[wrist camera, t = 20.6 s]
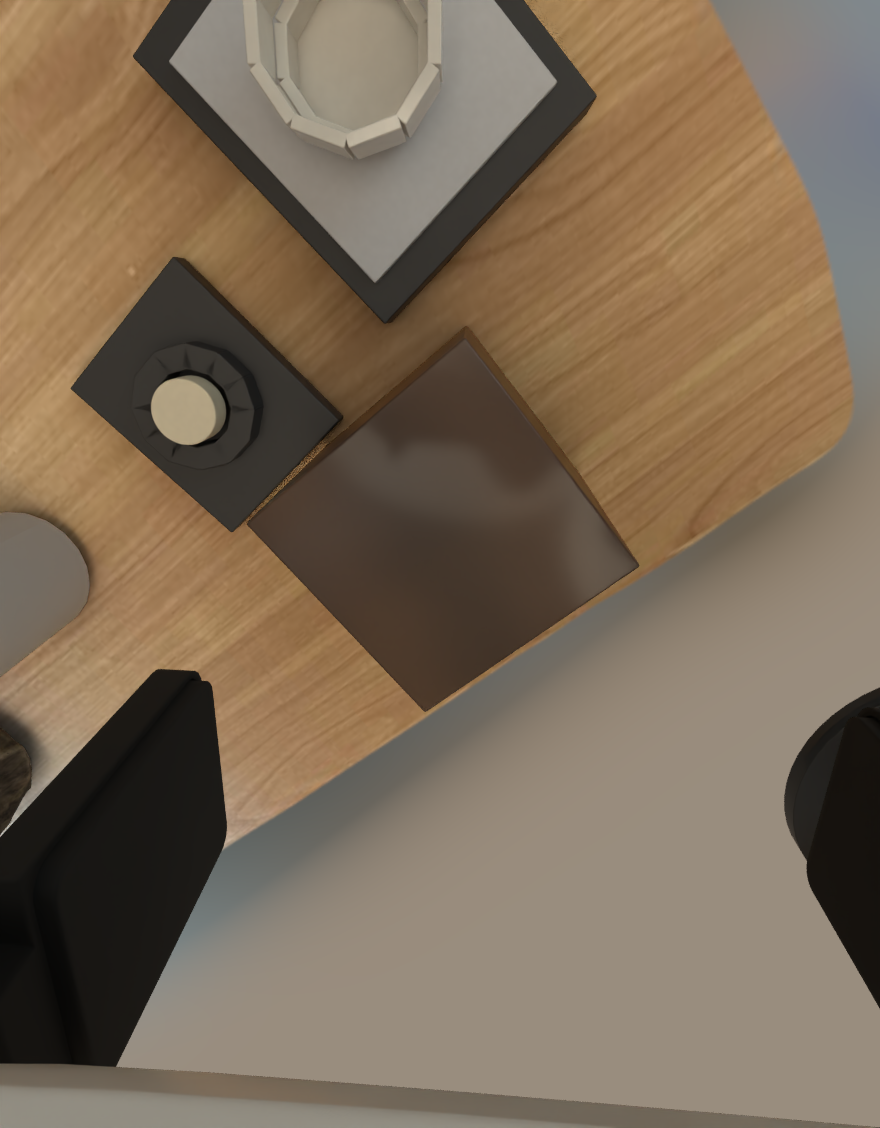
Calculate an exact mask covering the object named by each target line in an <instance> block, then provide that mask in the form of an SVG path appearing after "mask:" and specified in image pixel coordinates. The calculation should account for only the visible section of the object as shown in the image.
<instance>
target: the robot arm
mask: <svg viewBox="0 0 880 1128" xmlns="http://www.w3.org/2000/svg"><path fill="white" fill-rule="evenodd" d="M226 831H227V821H226V811H225V802H224V793H223V783H222V774H221V764H220V755H219V746H218V736H217V727H216V718H215V708H214V699H213V691H212V686H211V684H210V683H209V682H208V681H201V677H200V675H199V673H197V672H196V671H185V670H166V669H158V670H156V671H155V672H153V673H152V674H151V675H150V676H149V677H148V679H147V680H146V681H145V682H144V683H143V684H142V685H141V686H140V687H139V688H138V689H137V690H136V691H135V693H134V694H133V695H132V696H131V697H130V698H129V699H128V700H127V701H126V702H125V703H124V704H123V705H122V707H121V708H120V709H119V710H118V711H117V712H116V713H115V714H114V715H113V716H112V717H111V718H110V719H109V721H108V722H107V723H106V724H105V725H104V726H103V727H102V728H101V729H100V730H99V731H98V732H97V733H96V735H95V736H94V737H93V738H92V739H91V740H90V741H89V742H88V743H87V744H86V745H85V746H84V747H83V749H82V750H81V751H80V752H79V753H78V754H77V755H76V756H75V757H74V758H73V759H72V760H71V761H70V763H69V764H68V765H67V766H66V767H65V768H64V769H63V770H62V771H61V772H60V773H59V774H58V775H57V776H56V778H55V779H54V780H53V781H52V782H51V783H50V784H49V785H48V786H47V787H46V788H45V789H44V790H43V792H42V793H41V794H40V795H39V796H38V797H37V798H36V799H35V800H34V801H33V802H32V803H31V804H30V806H29V807H28V808H27V809H26V810H25V811H24V812H23V813H22V814H21V815H20V816H19V817H18V818H17V820H16V821H15V822H14V823H13V824H12V825H11V826H10V827H9V828H8V829H7V830H6V831H5V832H4V834H3V835H2V836H1V837H0V1128H880V1127H868V1126H858V1125H846V1124H835V1123H824V1122H813V1121H802V1120H790V1119H779V1118H767V1117H756V1116H745V1115H733V1114H721V1113H709V1112H697V1111H685V1110H674V1109H662V1108H649V1107H638V1106H626V1105H614V1104H601V1103H591V1102H578V1101H566V1100H554V1099H542V1098H528V1097H517V1096H505V1095H492V1094H481V1093H469V1092H456V1091H444V1090H430V1089H417V1088H405V1087H392V1086H379V1085H366V1084H353V1083H339V1082H326V1081H312V1080H301V1079H288V1078H274V1077H262V1076H248V1075H235V1074H223V1073H209V1072H192V1071H175V1070H156V1069H139V1068H122V1067H116V1065H117V1063H118V1061H119V1059H120V1057H121V1055H122V1053H123V1051H124V1049H125V1047H126V1045H127V1043H128V1041H129V1039H130V1037H131V1035H132V1033H133V1031H134V1029H135V1027H136V1025H137V1023H138V1020H139V1018H140V1017H141V1015H142V1012H143V1010H144V1008H145V1006H146V1004H147V1002H148V1000H149V998H150V996H151V994H152V992H153V990H154V988H155V986H156V984H157V982H158V980H159V978H160V976H161V974H162V971H163V969H164V967H165V966H166V963H167V961H168V959H169V957H170V955H171V953H172V951H173V949H174V947H175V945H176V943H177V941H178V939H179V937H180V935H181V933H182V931H183V929H184V927H185V924H186V922H187V921H188V919H189V917H190V914H191V912H192V910H193V908H194V906H195V904H196V902H197V900H198V898H199V896H200V894H201V892H202V890H203V888H204V886H205V884H206V882H207V880H208V878H209V876H210V874H211V872H212V869H213V867H214V865H215V863H216V861H217V859H218V857H219V855H220V853H221V851H222V849H223V846H224V842H225V838H226ZM807 877H808V881H809V884H810V887H811V889H812V891H813V893H814V895H815V896H816V898H817V900H818V902H819V903H820V905H821V907H822V909H823V910H824V912H825V914H826V916H827V917H828V919H829V921H830V923H831V924H832V926H833V928H834V930H835V931H836V933H837V935H838V937H839V938H840V940H841V942H842V944H843V945H844V947H845V949H846V951H847V952H848V954H849V956H850V958H851V959H852V961H853V963H854V964H855V966H856V968H857V970H858V971H859V973H860V975H861V977H862V978H863V980H864V982H865V984H866V985H867V987H868V989H869V991H870V992H871V994H872V996H873V998H874V999H875V1001H876V1003H877V1005H878V1006H879V1008H880V708H868V707H867V708H865V709H862V711H861V712H860V713H859V714H858V716H857V717H852V718H850V719H849V720H848V721H847V723H846V725H845V728H844V731H843V735H842V739H841V742H840V746H839V749H838V753H837V756H836V760H835V764H834V767H833V771H832V774H831V778H830V781H829V785H828V789H827V792H826V796H825V799H824V803H823V806H822V810H821V814H820V817H819V821H818V824H817V828H816V831H815V835H814V839H813V842H812V846H811V849H810V853H809V857H808V860H807Z"/></svg>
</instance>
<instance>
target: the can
mask: <svg viewBox="0 0 880 1128" xmlns="http://www.w3.org/2000/svg"><path fill="white" fill-rule="evenodd" d="M89 588H90V582H89V575H88V569H87V566H86V564H85V562H84V560H83V558H82V555H81V553H80V551H79V549H78V548H77V547H76V546H75V545H74V543H73V542H72V541H71V540H70V539H69V538H68V537H67V535H66V534H65V533H64V532H62V531H61V530H59V529H58V528H56V527H55V526H53V525H52V524H51V523H49V522H48V521H46V520H43V519H41V518H38V517H35V516H32V515H30V514H27V513H16V512H3V513H0V677H1V676H2V675H3V674H5V673H6V672H7V671H9V670H10V669H11V668H12V667H14V666H15V665H16V664H17V663H19V662H20V661H21V660H22V659H24V658H25V657H26V656H28V655H29V654H30V653H31V652H33V651H34V650H35V649H36V648H38V647H39V646H40V645H41V644H43V643H44V642H45V641H47V640H48V639H49V638H50V637H52V636H53V635H54V634H55V633H57V632H58V631H59V630H60V629H62V628H63V627H64V626H66V625H67V624H68V623H69V622H71V621H72V620H73V619H74V618H76V617H77V616H78V615H79V613H80V612H81V610H82V609H83V607H84V606H85V604H86V603H87V598H88V593H89Z"/></svg>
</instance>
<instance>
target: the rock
mask: <svg viewBox="0 0 880 1128" xmlns="http://www.w3.org/2000/svg"><path fill="white" fill-rule="evenodd" d="M31 777H32V767H31V765H30V758H29V756H28V755H27V753H26V749H25V748H24V747H23V746H22V745H20V744H19V743H17V742H16V741H15V740H13V739H12V738H11V736H10V735H9V734H8V733H6V732H5V731H4V730H3V729H2V728H0V835H1V833H2V832H3V830H4V829H5V828H6V827H7V826H8V825H9V823H10V821H11V819H12V817H13V815H14V813H15V812H16V810H17V808H18V806H19V804H20V802H21V800H22V798H23V797H24V795H25V794H26V792H27V791H28V790H29V789H30V788H31Z"/></svg>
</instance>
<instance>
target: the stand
mask: <svg viewBox="0 0 880 1128" xmlns="http://www.w3.org/2000/svg"><path fill="white" fill-rule="evenodd" d="M247 525H248V526H249V527H250V528H251V529H252V530H253V531H254V532H255V533H256V535H257V536H258V537H259V538H260V539H261V540H262V541H263V542H264V543H265V544H266V545H267V546H268V547H269V548H270V549H271V550H272V551H273V552H274V553H275V555H276V556H277V557H278V558H279V559H280V560H281V561H282V562H283V563H284V564H285V565H286V566H287V567H288V568H289V569H290V570H291V571H292V572H293V574H294V575H295V576H296V577H297V578H298V579H299V580H300V581H301V582H302V583H303V584H304V585H305V586H306V587H307V588H308V589H309V590H310V591H311V593H312V594H313V595H314V596H315V597H316V598H317V599H318V600H319V601H320V602H321V603H322V604H323V605H324V606H325V607H326V608H327V609H328V610H329V612H330V613H331V614H332V615H333V616H334V617H335V618H336V619H337V620H338V621H339V622H340V623H341V624H342V625H343V626H344V627H345V628H346V629H347V630H348V632H349V633H350V634H351V635H352V636H353V637H354V638H355V639H356V640H357V641H358V642H359V643H360V644H361V645H362V646H363V647H364V648H365V649H366V651H367V652H368V653H369V654H370V655H371V656H372V657H373V658H374V659H375V660H376V661H377V662H378V663H379V664H380V665H381V666H382V667H383V668H384V670H385V671H386V672H387V673H388V674H389V675H390V676H391V677H392V678H393V679H394V680H395V681H396V682H397V683H398V684H399V685H400V686H401V687H402V689H403V690H404V691H405V692H406V693H407V694H408V695H409V696H410V697H411V698H412V699H413V700H414V701H415V702H416V703H417V704H418V705H419V706H420V707H421V709H422V710H423V711H425V712H426V711H428V710H429V709H431V708H432V707H434V706H435V705H437V704H438V703H440V702H441V701H442V700H444V699H445V698H447V697H448V696H450V695H451V694H453V693H454V692H456V691H457V690H459V689H460V688H462V687H463V686H465V685H466V684H467V683H469V682H470V681H472V680H473V679H475V678H476V677H478V676H479V675H481V674H482V673H484V672H485V671H487V670H488V669H489V668H491V667H492V666H494V665H495V664H497V663H498V662H500V661H501V660H503V659H504V658H506V657H507V656H509V655H510V654H512V653H513V652H514V651H516V650H517V649H519V648H520V647H522V646H523V645H525V644H526V643H528V642H529V641H531V640H532V639H534V638H535V637H536V636H538V635H539V634H541V633H542V632H544V631H545V630H547V629H548V628H550V627H551V626H553V625H554V624H556V623H557V622H559V621H560V620H561V619H563V618H564V617H566V616H567V615H569V614H570V613H572V612H573V611H575V610H576V609H578V608H579V607H581V606H582V605H583V604H585V603H586V602H588V601H589V600H591V599H592V598H594V597H595V596H597V595H598V594H600V593H601V592H603V591H604V590H606V589H607V588H608V587H610V586H611V585H613V584H614V583H616V582H617V581H619V580H620V579H622V578H623V577H625V576H626V575H628V574H629V573H631V572H632V571H633V570H635V569H636V568H638V567H639V564H638V562H637V560H636V559H635V557H634V556H633V554H632V553H631V551H630V550H629V548H628V547H627V545H626V544H625V542H624V541H623V539H622V538H621V536H620V535H619V533H618V531H617V530H616V528H615V527H614V525H613V524H612V522H611V521H610V519H609V518H608V516H607V515H606V513H605V512H604V510H603V509H602V507H601V506H600V504H599V502H598V501H597V499H596V498H595V496H594V495H593V493H592V492H591V490H590V489H589V487H588V486H587V484H586V483H585V481H584V480H583V478H582V477H581V475H580V473H579V472H578V471H577V469H576V468H575V467H574V466H573V464H572V463H571V462H570V460H569V459H568V458H567V456H566V455H565V454H564V452H563V451H562V450H561V448H560V447H559V446H558V444H557V443H556V442H555V440H554V439H553V438H552V437H551V435H550V434H549V433H548V431H547V430H546V429H545V427H544V426H543V425H542V423H541V422H540V421H539V419H538V418H537V417H536V415H535V414H534V413H533V411H532V410H531V409H530V408H529V406H528V405H527V404H526V402H525V401H524V400H523V398H522V397H521V396H520V394H519V393H518V392H517V390H516V389H515V388H514V386H513V385H512V384H511V382H510V381H509V380H508V379H507V377H506V376H505V375H504V373H503V372H502V371H501V369H500V368H499V367H498V365H497V364H496V363H495V361H494V360H493V359H492V357H491V356H490V355H489V353H488V352H487V351H486V349H485V348H484V347H483V346H482V344H481V343H480V342H479V340H478V339H477V338H476V336H475V335H474V334H473V332H472V331H471V330H470V328H469V327H468V326H466V327H464V328H463V329H462V330H461V331H460V332H459V333H457V334H456V335H455V336H454V337H453V338H452V339H450V340H449V341H448V342H447V343H446V344H445V345H443V346H442V347H441V348H440V349H439V350H438V351H436V352H435V353H434V354H433V355H432V356H431V357H430V358H428V359H427V360H426V361H425V362H424V363H423V364H421V365H420V366H419V367H418V368H417V369H416V370H414V371H413V372H412V373H411V374H410V375H409V376H407V377H406V378H405V379H404V380H403V381H402V382H400V383H399V384H398V385H397V386H396V387H395V388H393V389H392V390H391V391H390V392H389V393H388V394H386V395H385V396H384V397H383V398H382V399H381V400H379V401H378V402H377V403H376V404H375V405H374V406H372V407H371V408H370V409H369V410H368V411H367V412H365V413H364V414H363V415H362V416H361V417H360V418H359V419H357V420H356V421H355V422H354V423H353V424H352V425H350V426H349V427H348V428H347V429H346V430H345V431H343V432H342V433H341V434H340V435H339V436H338V437H336V438H335V439H334V440H333V441H332V442H331V443H329V444H328V445H327V446H326V447H325V448H324V449H323V450H322V451H321V452H320V453H319V454H318V455H317V456H316V457H315V458H314V459H313V460H311V461H310V462H309V463H308V464H307V465H306V466H305V467H304V468H303V469H302V470H301V471H300V472H299V473H298V474H297V475H296V476H295V477H294V478H293V479H292V480H291V481H290V482H289V483H288V484H287V485H286V486H285V487H284V488H283V489H282V490H280V491H279V492H278V493H277V494H276V495H275V496H274V497H273V498H272V499H271V500H270V501H269V502H268V503H267V504H266V505H265V506H264V507H263V508H262V509H261V510H260V511H259V512H258V513H257V514H256V515H255V516H254V517H253V518H252V519H251V520H249V521H248V523H247Z"/></svg>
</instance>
